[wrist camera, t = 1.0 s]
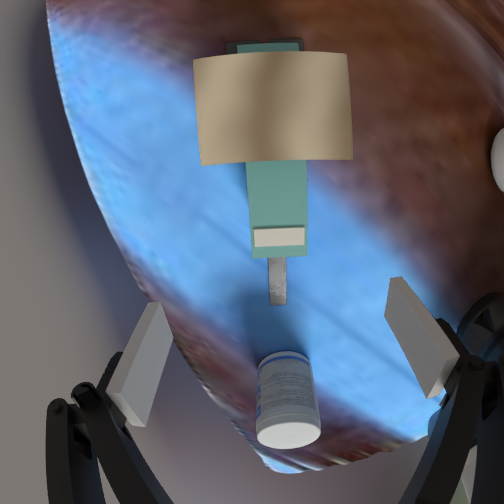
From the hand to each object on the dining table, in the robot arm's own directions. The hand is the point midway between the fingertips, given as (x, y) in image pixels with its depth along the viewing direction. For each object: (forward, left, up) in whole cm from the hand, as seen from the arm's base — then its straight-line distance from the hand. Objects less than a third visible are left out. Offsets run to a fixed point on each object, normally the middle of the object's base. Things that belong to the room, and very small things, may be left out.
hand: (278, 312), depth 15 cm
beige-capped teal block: (-1, -8, -22) cm, 23 cm away
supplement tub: (-2, +29, -22) cm, 36 cm away
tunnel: (-1, -11, -22) cm, 25 cm away
